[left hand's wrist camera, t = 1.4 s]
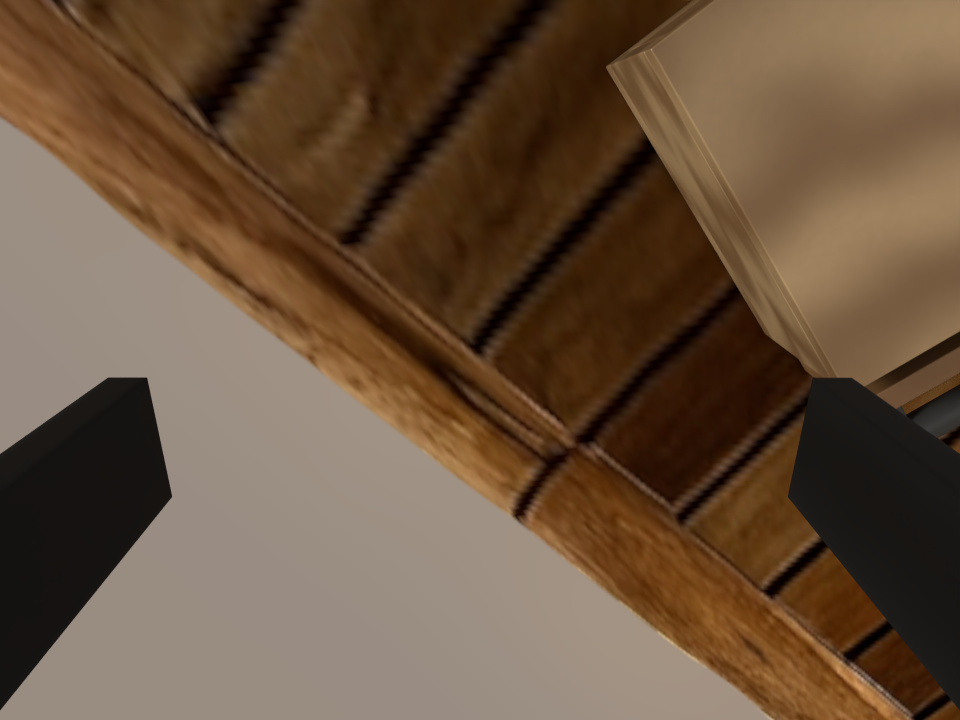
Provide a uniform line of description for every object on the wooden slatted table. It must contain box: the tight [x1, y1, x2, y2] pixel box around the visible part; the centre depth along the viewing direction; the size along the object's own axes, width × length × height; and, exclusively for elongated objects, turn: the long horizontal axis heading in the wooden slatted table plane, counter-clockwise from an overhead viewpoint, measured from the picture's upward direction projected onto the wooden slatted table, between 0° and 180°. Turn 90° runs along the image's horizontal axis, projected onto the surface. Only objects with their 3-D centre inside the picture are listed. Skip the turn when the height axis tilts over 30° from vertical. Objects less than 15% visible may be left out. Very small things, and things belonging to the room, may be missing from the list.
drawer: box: [800, 331, 960, 438], centre depth 29 cm, size 20×10×6 cm, turn 36°
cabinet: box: [606, 0, 960, 387], centre depth 27 cm, size 16×11×8 cm, turn 36°
